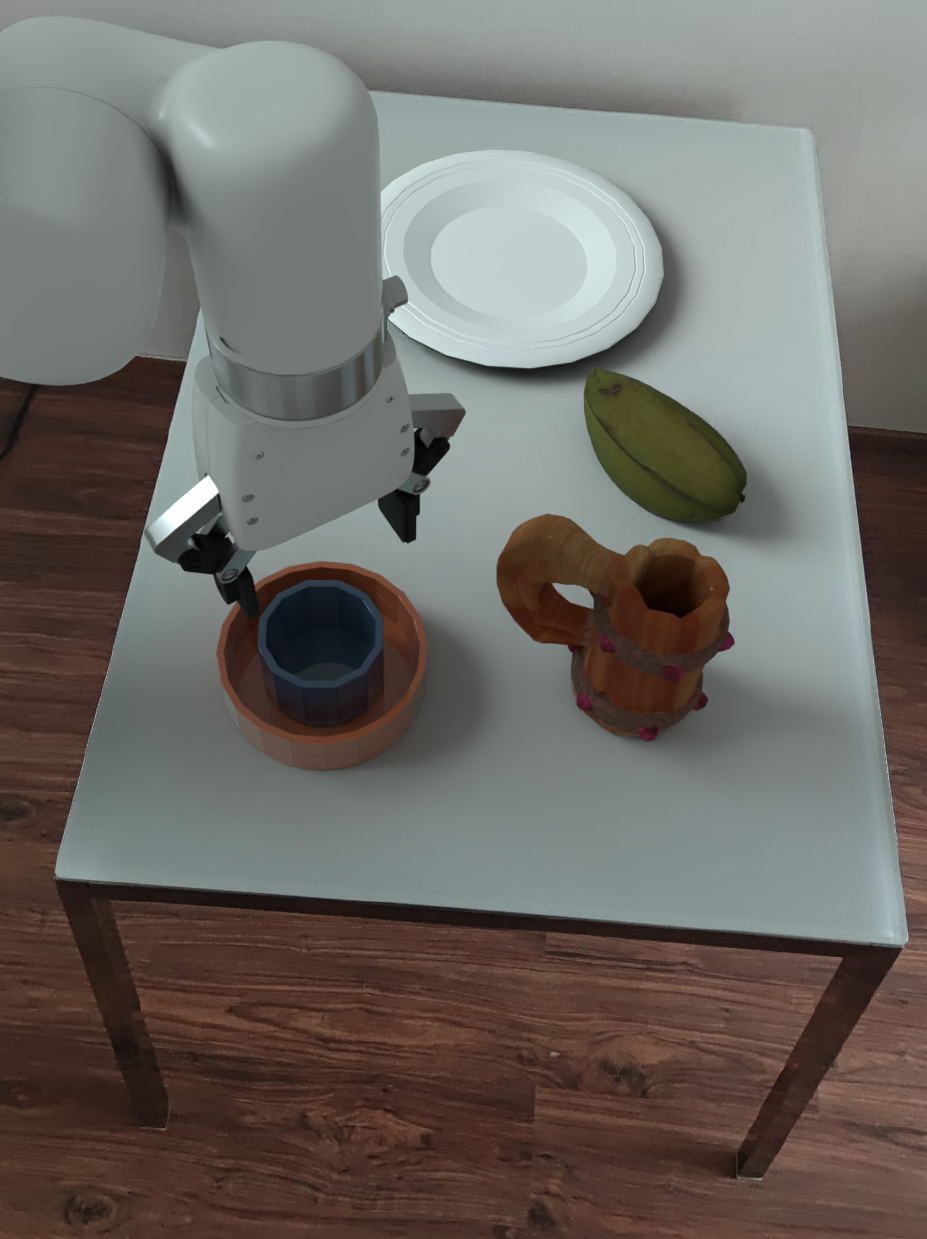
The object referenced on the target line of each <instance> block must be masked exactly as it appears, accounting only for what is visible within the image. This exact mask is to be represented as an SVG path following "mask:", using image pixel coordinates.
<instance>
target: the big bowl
mask: <svg viewBox="0 0 927 1239" xmlns="http://www.w3.org/2000/svg"><path fill="white" fill-rule="evenodd" d="M307 580H339V581H342V582H344V583H346V584H348V585H350V586H352V587H354V588H356V589H358V590H360V591H362V592H364V593H366V594H367V595H368V596H369V598H370V599H371V600H372V602H373V603H374V605H375V606H376V608H377V609H378V611H379V612H380V614H381V615H382V617H383V619H384V684H383V687H382V689H381V692H380V694H379V696H378V698H377V700H376V701H375V702H374V704H373V705H372V706H371V707H370V708H369V709H368V710H367V711H366V712H365V713H364V714H363V715H361V716H360V717H358V718H357V719H355V720H353V721H351V722H349V723H346V724H343V725H340V726H335V727H326V728H321V727H312V726H307V725H304V724H300V723H298V722H296V721H294V720H292V719H290V718H289V717H287V716H286V715H285V714H283V713H282V712H281V711H280V710H279V709H278V708H277V707H276V705H275V704H274V702H273V701H272V699H271V697H270V695H269V692H268V690H267V688H266V687H265V683H264V678H263V673H262V667H261V662H260V657H259V652H258V630H259V619H260V617H261V615H262V614H263V613H264V611H265V610H266V609H267V607H268V606H269V605H270V603H271V602H272V601H273V599H274V598H275V597H276V595H277V594H279V593H281V592H283V591H285V590H287V589H289V588H291V587H293V586H295V585H298V584H300V583H302V582H304V581H307ZM254 585H255V590H256V595H257V600H258V605H259V610H260V612H258V613H257V616H256V617H254V618H251V619H249V620H248V618H247V617H246V615H245V614H244V612H243V610H242V609H241V607H240V605H239V604H238V602H237V601H236V602H234V604H233V606H232V608H231V610H230V611H229V612H228V614H227V616H226V617H225V620H224V621H223V623H222V624H221V627H220V632H219V637H218V641H217V647H216V651H215V653H216V654H215V657H216V663H217V669H218V670H217V671H218V675H219V681H220V685H221V686H220V687H221V690H222V694H223V698H224V700H225V705H226V709H227V710H228V712H229V714H230V716H231V718H232V721H233V723H234V724H235V726H236V728H237V729H238V730H239V731H240V733H241V735H242V736H243V737H244V738H245V739H246V740H247V741H248V742H249V743H250V744H251V745H252V746H253V747H255V748H256V749H257V750H258V751H259V752H260V753H263V754H264V755H265V756H267V757H269V758H271V759H272V760H275V761H277V762H279V763H281V764H284V765H287V766H291V767H293V768H298V769H304V770H311V771H312V770H313V771H331V770H332V771H333V770H340V769H345V768H351V767H355V766H356V765H359V764H363V763H365V762H367V761H369V760H372V759H374V758H376V757H378V756H379V755H381V754H382V753H384V752H385V751H387V750H388V749H390V748H391V747H392V746H393V745H394V744H396V743H397V742H398V741H399V740H400V739H401V738H402V737H403V736H404V735H405V734H406V733H407V731H408V730H409V728H410V727H411V725H412V724H413V723H414V721H415V719H416V717H417V716H418V713H419V712H420V709H421V706H422V703H423V700H424V697H425V690H426V678H427V670H428V669H427V667H428V649H429V644H428V639H427V635H426V631H425V627H424V624H423V619H422V617H421V615H420V614H419V613H420V612H418V610H417V609H416V607H415V606H414V605H413V603H412V602H411V600H410V598H409V597H408V595H407V594H406V592H404V591H403V590H402V589H400V588H399V587H398V586H396V585H395V584H393V582H391V581H390V580H389V579H387V578H385V576H383V575H381V574H379V573H378V572H374V571H372V570H369V569H366V568H364V567H361V566H359V565H356V564H353V563H348V562H336V561H327V560H326V561H325V560H317V561H312V562H307V563H300V564H295V565H290V566H287V567H285V568H282V569H280V570H278V571H276V572H273V573H271V574H270V575H267V576H265V577H263V578H261V579H260V580H258V581H257V582H256V583H254Z"/></svg>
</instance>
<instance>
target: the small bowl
mask: <svg viewBox="0 0 927 1239" xmlns="http://www.w3.org/2000/svg"><path fill="white" fill-rule="evenodd" d="M258 652H259V657H260V662H261V667H262V673H263V678H264V683H265V687H266V688H267V690H268V692H269V695H270V697H271V699H272V701H273V702H274V704H275V705H276V707H277V708H278V709H279V710H280V711H281V712H282V713H283V714H285V715H286V716H287V717H289V718H290V719H292V720H294V721H296V722H298V723H300V724H304V725H307V726H312V727H321V728H326V727H335V726H340V725H343V724H346V723H349V722H351V721H353V720H355V719H357V718H358V717H360V716H361V715H363V714H364V713H365V712H366V711H367V710H368V709H369V708H370V707H371V706H372V705H373V704H374V702H375V701H376V700H377V698H378V696H379V694H380V692H381V689H382V687H383V684H384V619H383V617H382V615H381V614H380V612H379V611H378V609H377V608H376V606H375V605H374V603H373V602H372V600H371V599H370V598H369V596H368V595H367V594H366V593H364V592H362V591H360V590H358V589H356V588H354V587H352V586H350V585H348V584H346V583H344V582H342V581H339V580H307V581H304V582H302V583H300V584H298V585H295V586H293V587H291V588H289V589H287V590H285V591H283V592H281V593H279V594H277V595H276V597H275V598H274V599H273V601H272V602H271V603H270V605H269V606H268V607H267V609H266V610H265V611H264V613H263V614H262V615H261V617H260V619H259V630H258Z"/></svg>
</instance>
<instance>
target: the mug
mask: <svg viewBox="0 0 927 1239" xmlns="http://www.w3.org/2000/svg"><path fill="white" fill-rule="evenodd" d="M495 569H496V571H495V572H496V574H495V575H496V576H495V577H496V586H497V591H498V593H499V597H500V601H501V603H502V605H503V607H504V608H505V609H506V611H507V612H508V614H509V615H510V616H511V618H512V620H513V621H514V622H515V623H516V624H517V625H518V626H519V627H520V629H522V630H523V631H524V632H525V634H526V635H528V636H529V637H530V638H531V639H532V641H533V642H537V643H540V644H547V645H548V644H549V645H550V644H551V645H561V646H567V649H568V652H569V653H571V654H572V655H571V662H570V680H571V690H572V693H573V695H574V698H575V705H576V707H577V708H578V709H579V710H580V711H582V712H583V713H584V714H585V715H586V716H587V717H589V718H590V719H591V720H593V721H594V722H595V723H596V725H599V726H600V728H602V729H604V730H606V731H608V732H609V733H612V734H614V735H616V736H619V737H620V736H621V737H625V738H633V737H638V736H639V738H640V739H641V741H643V742H646V743H648V742H654V741H655V740H656V739H657V738H658V737H659V734H660V733H662V732H664V731H667V730H669V729H671V728H672V727H674V726H676V725H678V723H680V722H682V721H683V720H684V719H685V718H686V717H687V716H688V715H689V714H690V713H691V712H692V711H701V710H703V709H705V708H706V707H707V705H708V701H709V697H708V696H707V695H706V694H705V692H704V691H703V683H704V673H703V670H704V668H705V665H707V664H708V663H709V662H710V661H711V660H713V659H714V658H715V657H716V655H717V654H718V653H723V652H726V651H728V650H731V648H732V647H733V646H734V645H735V644H736V642H735V639H734V636H733V635H732V632H730V631H729V628H730V622H731V619H730V611H729V607H728V604H727V599H728V596H729V593H730V591H731V587H730V582H729V578H728V576H727V573H726V572H725V570H724V569H723V567H722V566H721V564H720V563H719V562H718V560H717V559H715V557H713V556H707V555H703V554H701V553H700V551H699V549H698V548H697V546H696V545H695V544H693V543H691V542H688V541H687V540H685V539H678V538H673V537H660V538H656V539H654V540H653V541H652V542H651V543H650V544H649V545H645V544H642V543H639V544H635V545H634V546H632V547H631V548H630V549H629V550H628V551H626V553H625V554H622V553H619V552H616V551H614V550H612V549H609V548H607V547H606V546H604V545H603V544H600V543H598V541H597V540H596V539H594V538H593V537H592V536H591V535H590V534H589V533H587V531H585V530H584V528H582V527H581V526H580V525H578V523H576V522H575V521H573V520H572V519H571V518H568V517H565V516H564V515H560V514H559V515H558V514H552V513H551V514H550V513H544V514H542V515H538V516H534V517H532V518H530V519H528V520H525V521H524V522H522V523H520V524H519V525H518V526H517V527H516V528H515V529H514V530H513V531H512V532H511V533H510V536H509V538H508V540H507V542H506V544H505V546H504V547H503V549H502V551H501V553H500V554H499V557H498V559H497V562H496V568H495ZM553 584H560V585H563V586H578V587H582V588H584V589H586V590H587V591H588V593H589V594H590V596H591V598H592V599H593V604H592V608H591V607H588V606H584V605H581V604H576V603H573V602H571V601H570V600H568V599H567V598H566V597H565V596H563V595H562V594H561V593H560V592H559V591H558V590H557V589H556V588H555V586H554V585H553Z"/></svg>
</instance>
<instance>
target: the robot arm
mask: <svg viewBox="0 0 927 1239" xmlns="http://www.w3.org/2000/svg"><path fill="white" fill-rule="evenodd" d="M380 146H381V145H380V132H379V119H378V114H377V110H376V107H375V104H374V101H373V98H372V96H371V94H370V92H369V90H368V88H367V87H366V85H365V84H364V81H363V80H362V79H361V78H360V77H359V75H357V73H355V72H354V70H352V68H351V67H350V66H349V65H348V64H347V63H346V62H344V61H342V60H341V59H339V58H338V57H337V56H335V55H333V54H330V53H328V52H327V51H325V50H322V49H319V48H316V47H314V46H311V45H307V44H305V43H299V42H294V41H288V40H287V41H286V40H257V41H249V42H243V43H240V44H235V45H231V46H228V47H225V48H221V47H215V46H211V45H206V44H205V45H204V44H198V43H193V42H189V41H185V40H180V39H176V38H172V37H167V36H164V35H159V34H156V33H155V34H154V33H151V32H147V31H142V30H138V29H134V28H130V27H126V26H122V25H119V24H113V23H110V22H106V21H100V20H96V19H90V18H85V17H76V16H68V15H48V16H46V15H45V16H43V15H42V16H37V17H31V18H26V19H24V20H20V21H19V22H16V23H13V24H12V25H9V26H8V27H6V28H5V29H3V30H2V31H1V32H0V377H1V378H5V379H9V380H12V381H17V382H21V383H27V384H34V385H44V386H56V387H57V386H59V387H61V386H76V385H84V384H87V383H91V382H96V381H99V380H102V379H105V378H106V377H109V376H111V375H113V374H114V373H117V372H118V371H120V370H122V369H123V368H124V367H125V366H126V365H127V364H129V363H130V362H131V361H132V360H133V359H134V358H135V357H136V356H137V355H139V353H140V352H141V350H142V349H143V347H144V345H145V344H146V342H147V340H148V338H149V336H150V335H151V334H152V331H153V328H154V326H155V323H156V320H157V316H158V313H159V308H160V302H161V297H162V291H163V284H164V274H165V269H166V268H165V267H166V258H167V256H166V255H167V245H168V236H169V229H171V230H175V231H176V232H178V233H179V234H180V235H181V236H182V237H184V239H185V241H186V244H187V248H188V251H189V256H190V260H191V265H192V270H193V276H194V281H195V285H196V286H195V287H196V291H197V296H198V300H199V301H198V302H199V306H200V310H201V316H202V320H203V327H204V332H205V337H206V340H207V341H206V342H207V346H208V352H209V354H208V355H206V356H204V357H203V358H201V359H200V360H199V361H198V363H197V365H196V368H195V371H194V378H193V385H192V386H193V387H192V403H191V404H192V405H191V416H192V417H191V420H192V421H191V423H192V437H193V448H194V449H193V450H194V457H195V465H196V471H197V476H198V481H199V482H198V483H196V484H195V485H194V486H193V487H192V488H191V489H190V490H188V491H187V492H186V493H185V494H184V495H182V496H181V497H180V498H179V499H178V500H177V501H175V502H174V503H173V504H172V505H170V506H169V508H167V509H166V510H165V511H164V512H163V513H161V515H159V516H158V517H157V518H156V519H154V520H153V521H152V522H151V523H150V524H149V525H147V526H146V527H145V529H144V530H143V535H144V537H145V539H146V540H147V542H148V544H149V545H150V547H151V549H152V551H153V553H154V554H155V555H157V556H159V557H161V558H162V559H164V560H166V561H168V562H170V563H171V564H177V565H179V566H180V568H181V569H182V571H183V572H186V573H194V574H202V575H211V576H212V577H213V581H214V584H215V587H216V588H217V591H218V592H219V594H220V596H221V598H222V599H223V602H224V603H225V604H226V605H227V606H229V605H231V604H234V603H236V601H237V602H238V604H239V605H240V607H241V609H242V610H243V612H244V614H245V615H246V617H247V618H248V620H249V619H251V618H254V617H256V616H257V613H258V612H260V610H259V605H258V600H257V595H256V590H255V580H254V577H253V575H252V572H251V570H249V569H250V568H249V567H248V564H249V563H250V562H251V560H252V559H253V557H254V556H255V555H256V553H257V552H259V551H264V550H268V549H271V548H273V547H276V546H278V545H282V544H284V543H286V542H288V541H290V540H292V539H295V538H297V537H299V536H301V535H304V534H306V533H308V532H310V531H312V530H315V529H317V528H320V527H321V526H323V525H326V524H328V523H330V522H333V521H334V520H337V519H339V518H341V517H343V516H346V515H348V514H349V513H352V512H353V511H355V510H358V509H360V508H362V507H364V506H367V505H369V504H371V503H372V502H375V501H376V500H377V507H378V509H379V511H380V513H381V514H382V516H383V517H384V518H385V520H386V521H387V522H388V524H389V526H390V527H391V528H392V530H393V531H394V532H395V534H396V535H397V537H398V538H399V540H400V541H401V543H403V544H404V543H406V544H411V543H412V542H415V541H416V540H417V517H419V516H420V514H421V494H423V493H425V492H426V491H427V490H428V489H429V487H430V486H431V479H430V478H429V477H428V475H429V474H430V473H431V472H432V471H433V470H434V469H435V468H436V467H437V465H438V464H439V463H440V462H441V461H442V459H443V458H444V457H445V456H446V455H447V453H448V452H449V451H450V450H451V444H450V442H449V441H450V438H452V437H454V436H455V434H456V432H457V431H458V429H459V427H460V425H461V424H462V421H463V419H465V416H466V414H467V410H466V409H465V407H464V406H463V405H462V404H461V403H460V401H459V400H458V398H457V397H456V396H455V394H453V393H452V392H443V393H441V392H440V393H414V394H413V393H411V394H409V390H408V387H407V386H408V385H407V382H406V379H405V374H404V370H403V366H402V364H401V360H400V356H399V353H398V350H397V348H396V347H397V346H396V345H395V342H394V339H393V337H392V335H391V333H390V332H389V330H388V320H387V319H388V317H389V316H390V315H391V314H392V313H394V311H395V308H397V307H400V306H402V305H405V304H407V302H408V294H407V290H406V288H405V285H404V283H403V281H402V280H401V279H400V277H399V276H397V275H395V276H392V277H390V278H387V279H385V280H383V277H382V236H381V192H382V191H381V152H380V151H381V149H380V148H381V147H380ZM415 429H416V430H415ZM199 530H200V532H199V533H198V531H199ZM228 534H230V535H231V537H232V538H233V540H234V542H232V540H231V538H230V536H227V535H228Z"/></svg>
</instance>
